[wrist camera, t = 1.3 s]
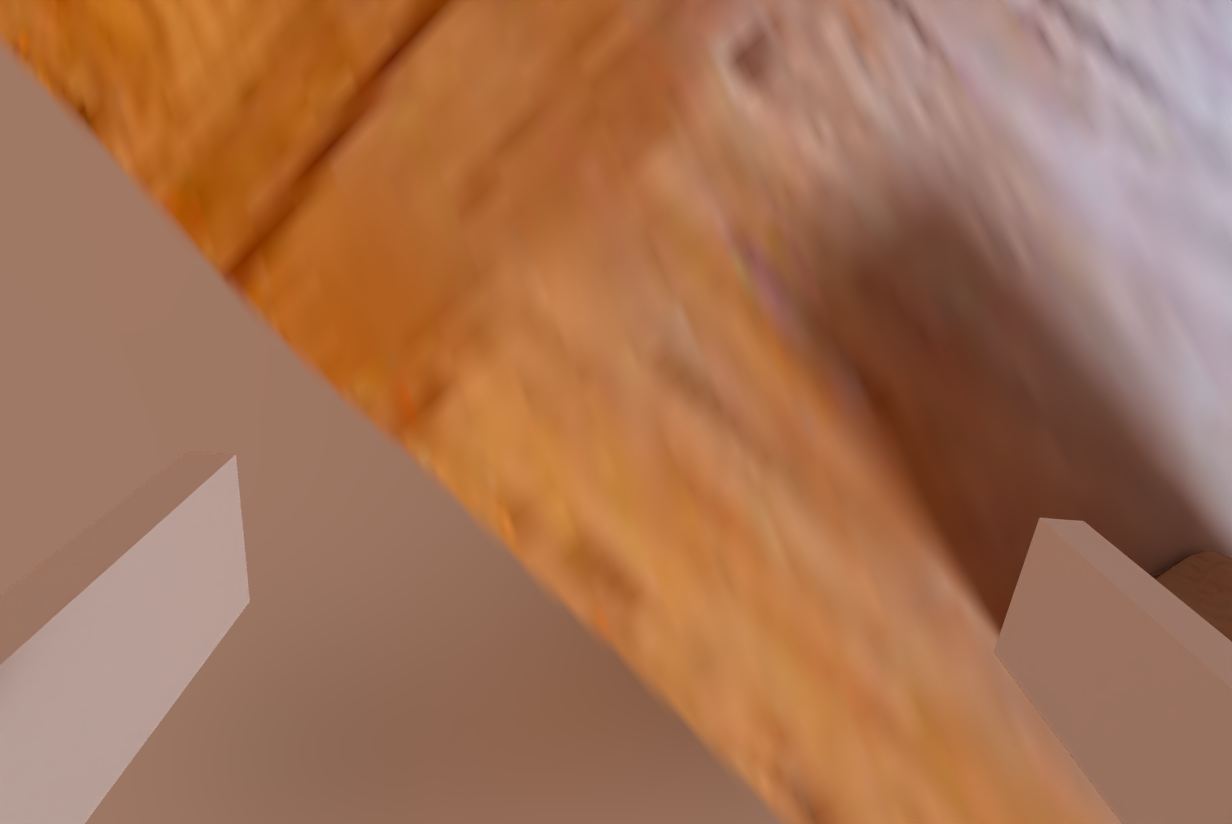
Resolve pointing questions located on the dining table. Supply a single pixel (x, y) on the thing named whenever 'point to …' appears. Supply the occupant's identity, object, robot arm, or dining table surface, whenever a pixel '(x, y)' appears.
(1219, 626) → the wooden block
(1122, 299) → the dining table surface
